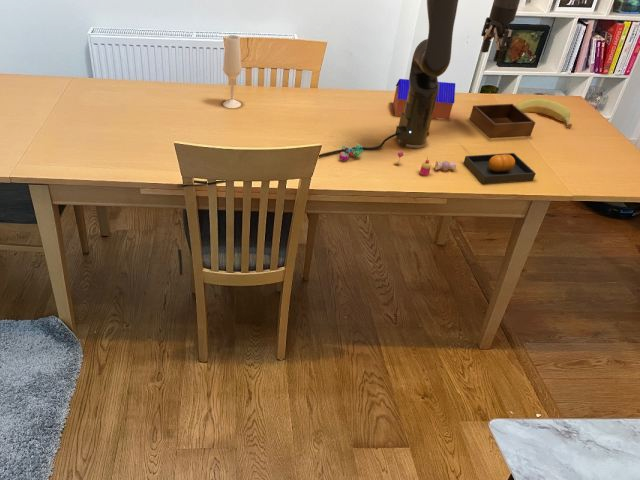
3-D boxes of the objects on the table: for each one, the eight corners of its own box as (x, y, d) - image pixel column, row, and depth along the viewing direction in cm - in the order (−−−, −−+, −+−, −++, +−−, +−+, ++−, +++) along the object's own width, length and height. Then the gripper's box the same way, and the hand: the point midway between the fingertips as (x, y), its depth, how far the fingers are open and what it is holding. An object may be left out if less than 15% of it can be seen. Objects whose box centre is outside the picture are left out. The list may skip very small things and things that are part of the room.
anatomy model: (333, 140, 188) (344, 147, 183) (354, 137, 191) (366, 143, 186) (332, 156, 191) (343, 163, 186) (353, 152, 194) (364, 159, 189)
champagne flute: (240, 100, 220) (242, 34, 204) (241, 108, 215) (242, 40, 199) (222, 100, 219) (223, 34, 204) (223, 107, 214) (223, 40, 199)
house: (392, 103, 224) (398, 72, 216) (444, 107, 222) (452, 76, 215) (394, 116, 215) (400, 85, 207) (449, 120, 213) (457, 89, 206)
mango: (490, 175, 184) (496, 162, 180) (483, 165, 187) (489, 152, 183) (514, 174, 185) (520, 160, 181) (506, 164, 188) (512, 150, 184)
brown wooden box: (489, 140, 203) (494, 124, 199) (468, 120, 214) (473, 105, 211) (529, 137, 206) (535, 122, 202) (507, 118, 217) (512, 103, 213)
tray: (482, 184, 180) (485, 176, 178) (463, 163, 190) (465, 155, 188) (532, 180, 183) (535, 173, 181) (511, 160, 193) (513, 152, 191)
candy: (449, 164, 189) (454, 147, 185) (456, 176, 183) (462, 159, 179) (394, 162, 188) (398, 145, 184) (399, 175, 182) (403, 158, 178)
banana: (538, 87, 222) (584, 113, 211) (534, 99, 226) (578, 125, 216) (513, 103, 218) (558, 130, 208) (509, 115, 222) (553, 142, 212)
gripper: (484, -3, 186) (470, 49, 197) (505, 10, 175) (490, 65, 186) (505, -3, 187) (490, 48, 198) (528, 10, 177) (511, 64, 187)
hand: (490, 56), depth 192 cm, fingers open, 8 cm apart
